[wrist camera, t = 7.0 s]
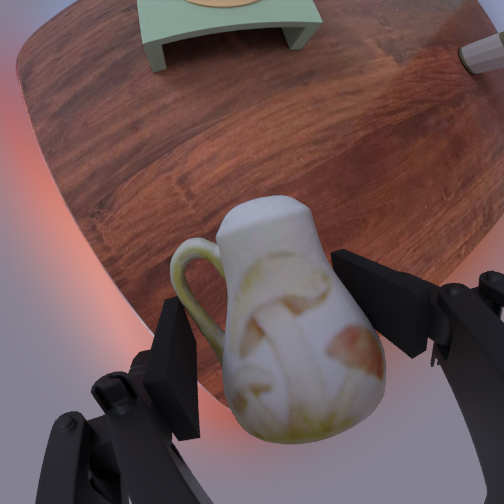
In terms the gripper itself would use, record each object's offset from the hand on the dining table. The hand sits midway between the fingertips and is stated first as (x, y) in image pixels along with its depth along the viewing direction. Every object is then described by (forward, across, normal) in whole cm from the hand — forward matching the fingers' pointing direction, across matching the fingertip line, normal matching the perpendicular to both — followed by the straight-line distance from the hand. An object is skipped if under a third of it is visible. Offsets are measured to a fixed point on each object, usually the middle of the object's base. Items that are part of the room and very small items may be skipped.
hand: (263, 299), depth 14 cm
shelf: (+17, +5, +29) cm, 34 cm away
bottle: (+17, +54, +25) cm, 62 cm away
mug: (0, 0, 0) cm, 0 cm away
